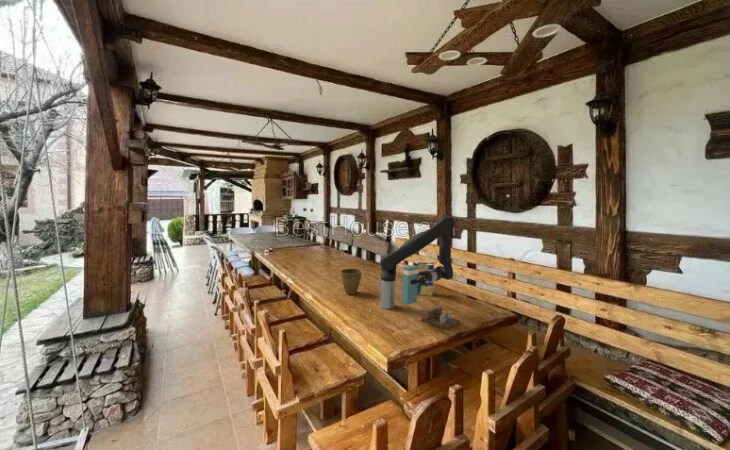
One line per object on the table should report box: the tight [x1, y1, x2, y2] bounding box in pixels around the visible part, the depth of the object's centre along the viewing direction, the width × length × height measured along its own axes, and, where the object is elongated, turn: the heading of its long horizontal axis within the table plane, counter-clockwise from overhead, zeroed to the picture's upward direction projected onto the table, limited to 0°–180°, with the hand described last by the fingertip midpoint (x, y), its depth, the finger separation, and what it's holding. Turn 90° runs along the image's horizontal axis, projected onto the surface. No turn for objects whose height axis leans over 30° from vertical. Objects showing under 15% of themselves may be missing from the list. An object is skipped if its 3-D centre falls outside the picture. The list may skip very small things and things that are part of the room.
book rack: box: [420, 306, 461, 331], centre depth 175 cm, size 14×16×6 cm
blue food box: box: [417, 261, 435, 297], centre depth 223 cm, size 7×11×22 cm, turn 74°
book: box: [401, 264, 418, 306], centre depth 173 cm, size 8×4×20 cm, turn 131°
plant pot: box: [340, 268, 363, 295], centre depth 223 cm, size 15×15×16 cm
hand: (408, 281), depth 172 cm, fingers closed on book, 4 cm apart
